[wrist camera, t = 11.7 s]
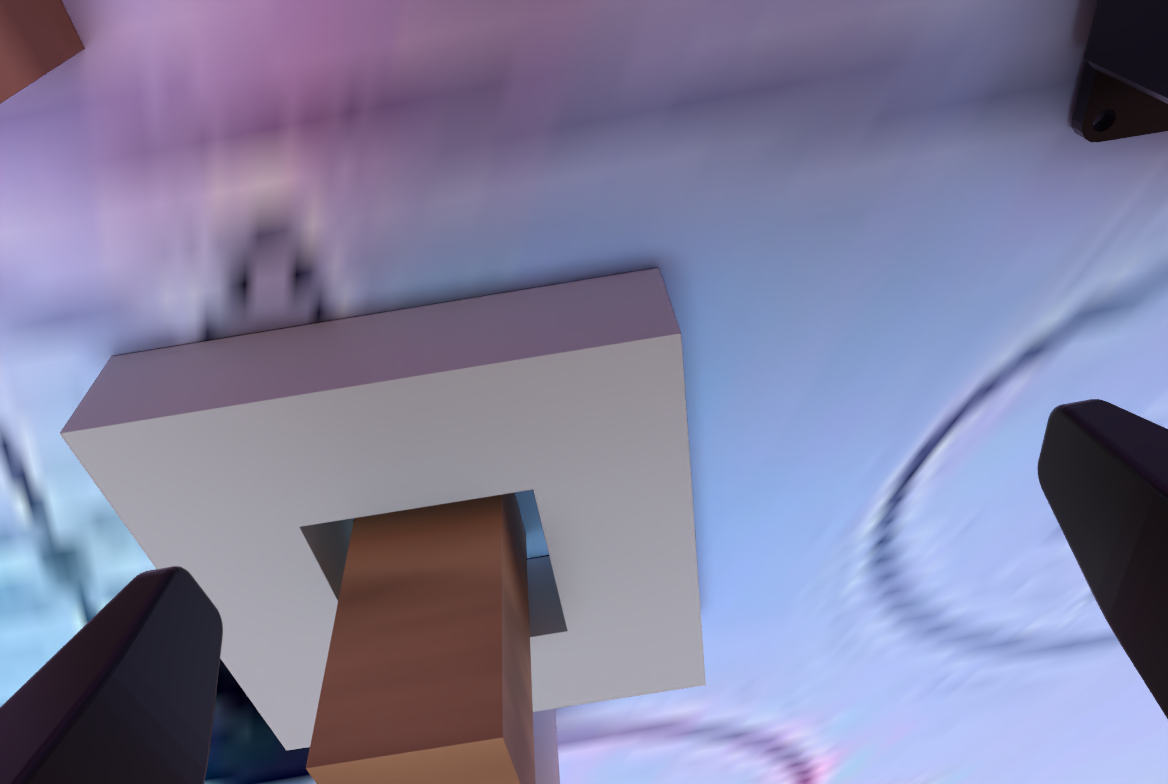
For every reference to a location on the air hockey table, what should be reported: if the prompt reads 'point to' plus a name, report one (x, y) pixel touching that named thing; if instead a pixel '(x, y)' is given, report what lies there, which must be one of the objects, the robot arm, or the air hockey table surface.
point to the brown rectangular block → (430, 651)
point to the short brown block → (33, 41)
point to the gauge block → (421, 478)
